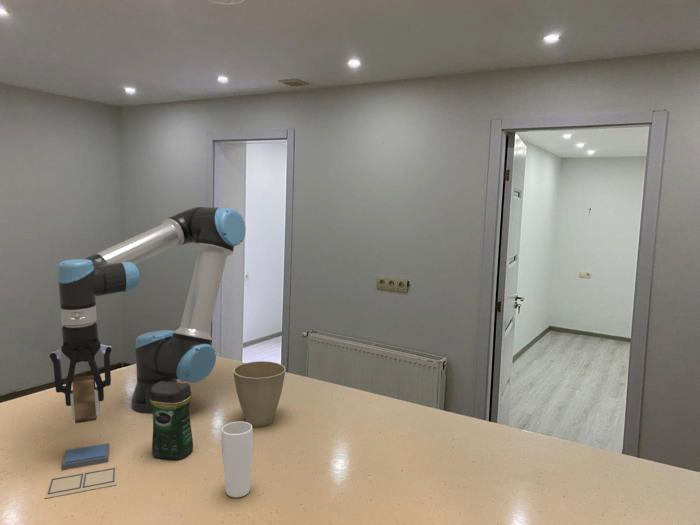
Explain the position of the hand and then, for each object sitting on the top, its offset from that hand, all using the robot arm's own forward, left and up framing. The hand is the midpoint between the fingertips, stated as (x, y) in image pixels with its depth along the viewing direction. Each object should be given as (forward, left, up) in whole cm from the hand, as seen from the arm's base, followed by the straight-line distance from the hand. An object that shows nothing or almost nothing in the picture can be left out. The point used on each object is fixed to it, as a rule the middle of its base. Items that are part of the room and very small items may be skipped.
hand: (86, 415), depth 126 cm
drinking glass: (-32, +29, -11) cm, 45 cm away
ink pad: (0, 0, -11) cm, 11 cm away
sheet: (0, +12, -11) cm, 16 cm away
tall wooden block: (0, 0, -1) cm, 1 cm away
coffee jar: (-20, +5, -11) cm, 23 cm away
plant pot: (-45, -5, -11) cm, 46 cm away
